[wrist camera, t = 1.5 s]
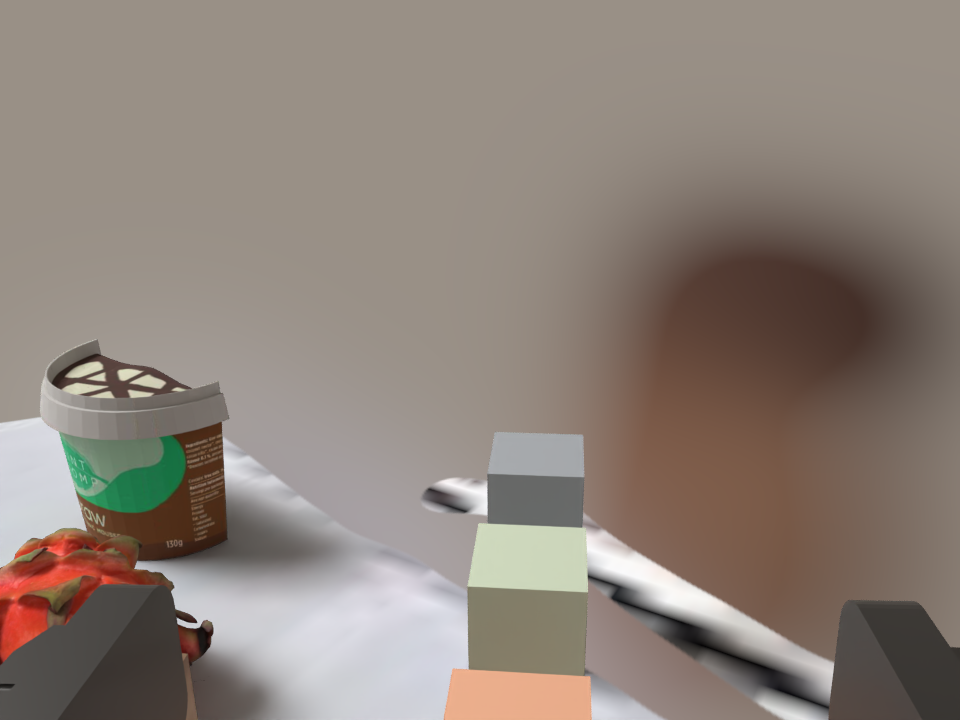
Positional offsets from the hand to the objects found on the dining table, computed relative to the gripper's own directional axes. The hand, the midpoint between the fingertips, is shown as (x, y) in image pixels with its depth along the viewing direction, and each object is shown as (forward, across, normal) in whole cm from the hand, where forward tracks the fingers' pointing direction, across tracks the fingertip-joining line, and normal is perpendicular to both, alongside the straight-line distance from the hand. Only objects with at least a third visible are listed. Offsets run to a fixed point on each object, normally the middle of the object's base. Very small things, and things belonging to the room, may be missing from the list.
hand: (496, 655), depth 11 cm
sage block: (+19, 0, +20) cm, 28 cm away
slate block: (+27, 0, +20) cm, 33 cm away
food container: (+35, +23, +19) cm, 46 cm away
